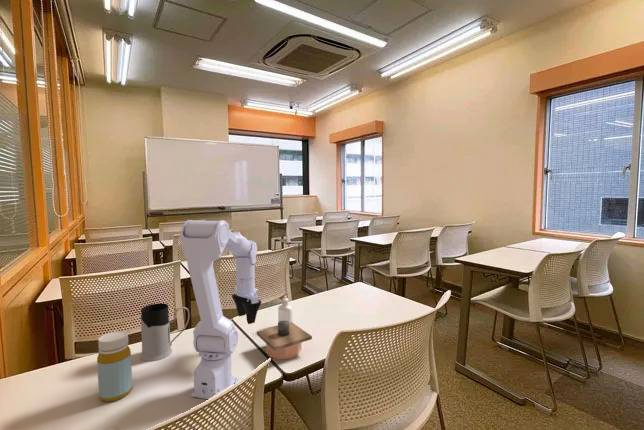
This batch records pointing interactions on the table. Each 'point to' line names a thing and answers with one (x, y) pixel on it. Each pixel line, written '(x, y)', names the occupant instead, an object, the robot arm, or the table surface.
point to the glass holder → (156, 331)
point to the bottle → (114, 366)
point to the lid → (283, 335)
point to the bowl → (284, 351)
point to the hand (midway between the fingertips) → (246, 319)
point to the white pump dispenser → (285, 311)
